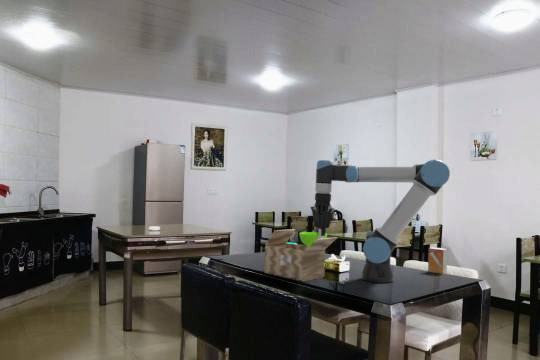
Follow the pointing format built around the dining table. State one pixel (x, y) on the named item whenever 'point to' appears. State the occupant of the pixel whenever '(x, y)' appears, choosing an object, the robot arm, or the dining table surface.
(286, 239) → the far flap
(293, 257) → the carton
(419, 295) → the dining table surface
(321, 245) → the near flap
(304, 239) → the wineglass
